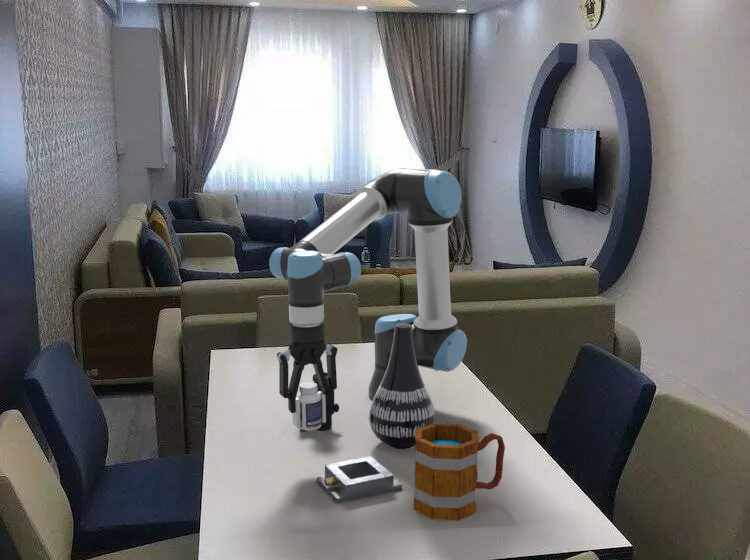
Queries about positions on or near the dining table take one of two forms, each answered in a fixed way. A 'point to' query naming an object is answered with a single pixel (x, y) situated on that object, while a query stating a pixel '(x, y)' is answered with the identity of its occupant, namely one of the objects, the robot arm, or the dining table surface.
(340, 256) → the robot arm
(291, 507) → the dining table surface
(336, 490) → the coupler block
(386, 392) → the vase
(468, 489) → the mug
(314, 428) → the pill bottle
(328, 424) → the scope
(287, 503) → the dining table surface
